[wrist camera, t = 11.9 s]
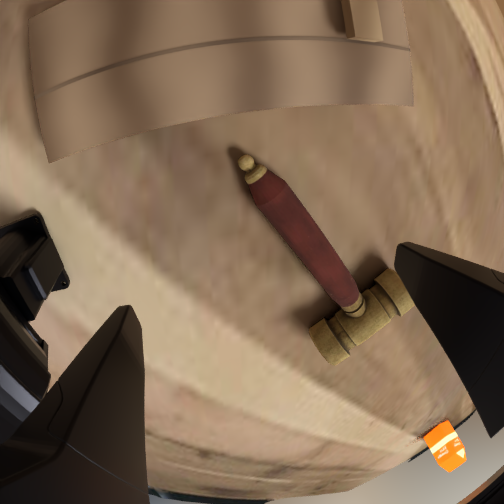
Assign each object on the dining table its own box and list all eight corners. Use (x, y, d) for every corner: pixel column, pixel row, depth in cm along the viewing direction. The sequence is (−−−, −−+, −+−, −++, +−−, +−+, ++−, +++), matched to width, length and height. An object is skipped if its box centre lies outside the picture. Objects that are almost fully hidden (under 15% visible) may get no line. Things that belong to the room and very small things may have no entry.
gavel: (179, 217, 17) (314, 110, 15) (183, 196, 21) (291, 111, 19) (339, 373, 26) (420, 311, 24) (323, 343, 30) (396, 287, 28)
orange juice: (448, 420, 76) (470, 457, 59) (432, 433, 79) (453, 469, 62) (439, 424, 73) (462, 463, 56) (422, 437, 77) (444, 476, 60)
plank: (64, 155, 16) (48, 163, 13) (44, 25, 10) (27, 19, 8) (393, 103, 18) (414, 106, 16) (378, -11, 13) (398, -18, 11)
